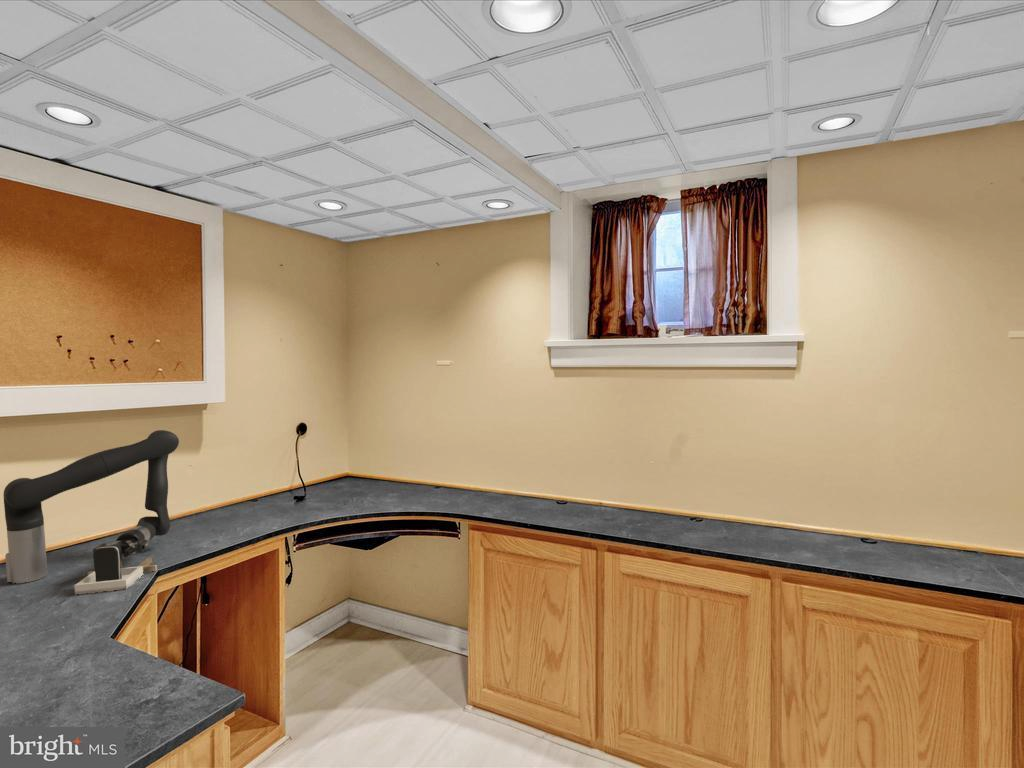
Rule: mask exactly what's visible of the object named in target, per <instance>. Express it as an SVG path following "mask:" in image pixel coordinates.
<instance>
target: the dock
mask: <svg viewBox="0 0 1024 768" xmlns="http://www.w3.org/2000/svg"><path fill="white" fill-rule="evenodd" d="M150 563H152V564H153V558H152V557H147V558H146V559H144V561H142V562H141V563H139V564H138V565H136V567H138V566H143V572H149V571H156V570H157V571H158V565H157V564H153V565H152V564H151V565H149V564H150ZM148 565H149V566H148ZM120 566H122V567H123V566H124V564H123V559H122V560H121V561H120ZM94 571H95V570H91V571H87V576H88V575H90V574H91V573H92V572H94ZM157 571H156V572H157Z"/></svg>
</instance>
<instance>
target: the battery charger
mask: <svg viewBox="0 0 1024 768" xmlns="http://www.w3.org/2000/svg"><path fill="white" fill-rule="evenodd" d="M108 545H109V544H108ZM121 560H122V561H123V554H122V551H121V547H120V546H118V545H109V546H102V547H100V548H97V549H96V550H95V551H94V559H93V567H94V568H93V569H94V571H95V576H96V582H101V581H110V580H120V579H122V576H121V570H120V567H121V566H120V561H121ZM121 568H122V567H121Z"/></svg>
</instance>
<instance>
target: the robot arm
mask: <svg viewBox="0 0 1024 768" xmlns="http://www.w3.org/2000/svg"><path fill="white" fill-rule="evenodd" d="M179 444H180V440H179V437H178V435H177V434H175V433H174V432H172V431H170V430H169V431H168V430H165V429H164V430H163V429H159V430H155V431H153V432H151V433H150V434H149V435H148V437H147V438H146V439H142V440H141V441H139V442H138V441H137V442H134V443H132V444H128V445H125V446H124V445H122V446H118V447H113V448H109V449H105V450H102V451H98V452H95V453H92V454H90V455H88V456H87V455H86V456H84V457H82V458H80V459H77V460H75V461H74V462H72V463H69V464H68V465H66V466H65V467H62V468H61V469H58V470H57V471H54V472H51V473H48V474H45V475H42V476H41V475H40V476H38V477H35V478H28V477H20V478H15V479H13V480H12V481H10V482H9V483H8V484H7V485H6V486H5V487H4V490H3V504H4V505H3V506H4V507H3V508H4V517H5V518H4V519H5V524H6V526H5V527H6V537H7V547H8V549H7V550H8V552H7V553H6V554H5V569H6V571H5V572H6V583H7V582H12V583H11V584H15V583H16V584H25V582H26V583H31V582H33V581H34V582H35V581H37V580H41V579H44V578H45V577H46V576H48V565H47V563H48V562H47V561H48V560H47V550H46V549H47V548H46V536H45V535H46V533H45V521H44V519H45V518H44V513H43V508H42V507H43V506H42V503H43V502H44V501H47V500H49V499H50V498H53V497H55V496H57V495H59V494H62V493H64V492H67V491H70V490H73V489H76V488H79V487H82V486H86V485H88V484H91V483H94V482H97V481H100V480H102V479H105V478H107V477H110V476H112V475H115V474H118V473H119V472H122V471H124V470H127V469H129V468H131V467H133V466H135V465H138V464H141V463H143V462H146V461H147V465H148V466H147V467H148V468H147V482H146V490H145V501H144V509H146V510H147V511H150V512H154V513H156V515H157V516H155V515H154V516H147V515H146V516H142V517H140V519H139V520H138V522H137V524H136V525H135V526H134V527H131V528H129V529H128V530H126V531H125V532H123V533H122V534H120V535H119V536H118V537H117V538H116V539H115V541H114V542H113V543H112V542H111V543H109V544H107V543H105V542H103V543H102V544H100V545H98V546H96V547H95V548H93V549H92V559H93V560H94V551H95V550H96V549H97V548H100V547H102V546H109V545H118V546H120V547H121V551H122V555H123V557H124V558H128V557H130V556H131V555H134V554H137V552H138V554H139V553H143V552H144V551H145V550H147V548H149V542H150V541H151V540H153V539H154V537H155V536H158V537H159V536H160V537H161V536H165V535H167V534H168V533H169V531H170V529H171V520H170V516H169V512H168V511H169V510H168V496H169V495H168V493H169V480H168V458H169V455H170V454H172V453H174V452H175V450H177V448H178V447H179Z"/></svg>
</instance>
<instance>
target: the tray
mask: <svg viewBox="0 0 1024 768" xmlns="http://www.w3.org/2000/svg"><path fill="white" fill-rule="evenodd" d="M137 566H138V567H137ZM137 566H130V567H121V568H120V570H121V576H122V579H120V580H110V581H101V582H96V576H95V570H93V571H94V572H92V573H91V574H90V575H88V574H87V576H85V577H84V578H82V579H81V580H80V581H78V582H77V583H75V584H74V586H73V588H74V595H75V596H78V595H77V594H79V595H85V594H86V593H88V594H96V593H95V592H98V593H104V592H103V591H107V592H114V590H117V591H125V590H124V589H126V590H128V589H129V588H130V587H132V586H133V585H134V584H135V583H136V582H137V581H138V580H139V579H140V578H142V577H143V576H144V573H143V566H139V565H137ZM142 575H143V576H142ZM141 576H142V577H141ZM138 578H139V579H138ZM137 579H138V580H137ZM136 580H137V581H136ZM135 581H136V582H135ZM134 582H135V583H134ZM129 586H130V587H129ZM128 587H129V588H128ZM127 588H128V589H127Z"/></svg>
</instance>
